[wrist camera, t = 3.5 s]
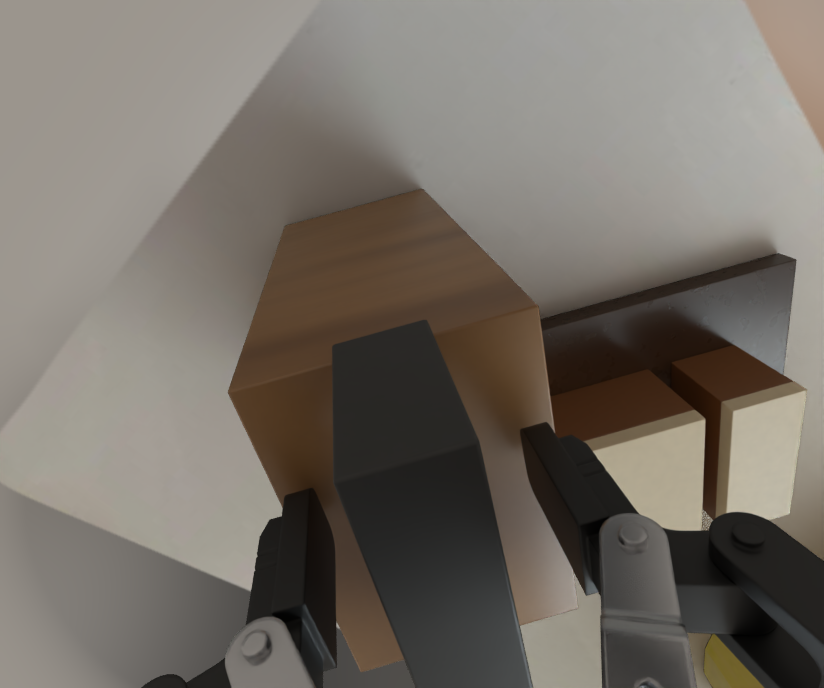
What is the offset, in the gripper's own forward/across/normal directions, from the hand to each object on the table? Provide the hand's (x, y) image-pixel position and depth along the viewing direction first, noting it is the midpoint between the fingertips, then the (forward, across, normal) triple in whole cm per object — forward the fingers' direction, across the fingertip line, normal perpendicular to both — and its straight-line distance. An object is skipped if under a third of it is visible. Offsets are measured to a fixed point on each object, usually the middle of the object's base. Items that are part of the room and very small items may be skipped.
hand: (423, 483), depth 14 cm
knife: (+1, 0, +6) cm, 6 cm away
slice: (+17, -20, +16) cm, 31 cm away
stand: (+19, 0, +2) cm, 19 cm away
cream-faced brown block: (+17, -12, +16) cm, 26 cm away
